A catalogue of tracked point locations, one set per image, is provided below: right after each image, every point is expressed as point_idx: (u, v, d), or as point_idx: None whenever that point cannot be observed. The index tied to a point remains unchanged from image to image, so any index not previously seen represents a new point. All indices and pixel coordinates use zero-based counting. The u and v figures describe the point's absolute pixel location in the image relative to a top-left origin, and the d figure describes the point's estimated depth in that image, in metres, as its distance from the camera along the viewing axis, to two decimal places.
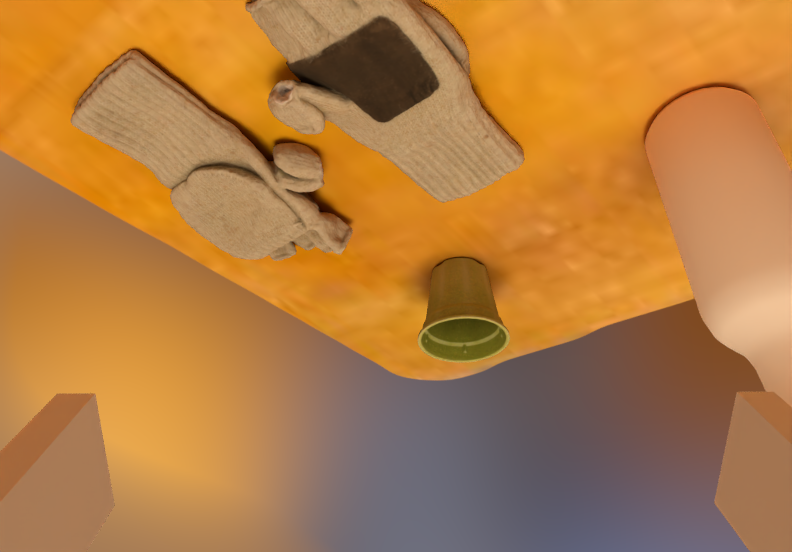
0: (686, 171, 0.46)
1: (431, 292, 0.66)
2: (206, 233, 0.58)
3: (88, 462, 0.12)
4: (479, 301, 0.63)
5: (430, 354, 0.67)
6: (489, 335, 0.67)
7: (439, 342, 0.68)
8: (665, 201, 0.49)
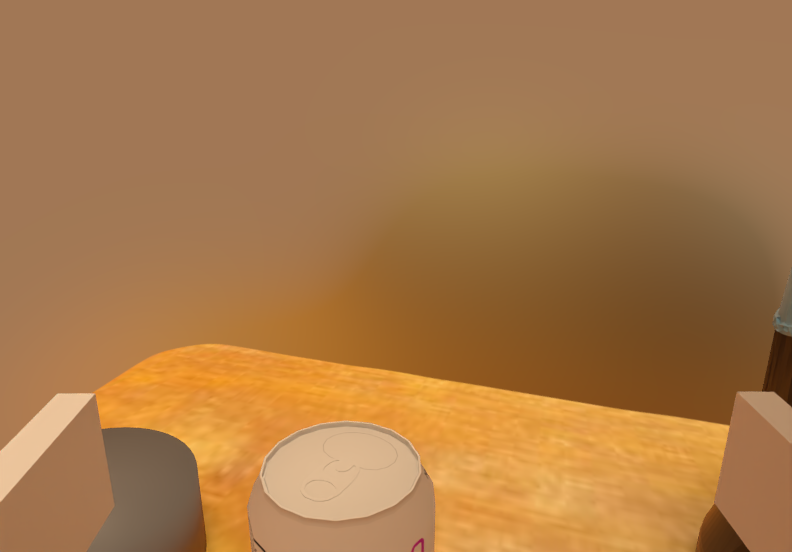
0: None
1: None
2: None
3: (88, 462, 0.12)
4: None
5: None
6: None
7: None
8: None
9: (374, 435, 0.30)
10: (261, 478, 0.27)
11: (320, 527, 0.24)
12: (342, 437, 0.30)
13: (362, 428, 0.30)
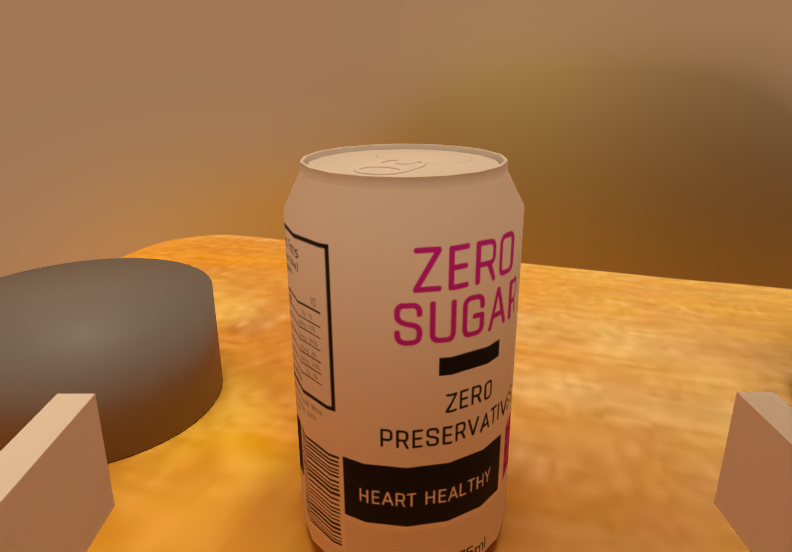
0: None
1: None
2: None
3: (88, 462, 0.12)
4: None
5: None
6: None
7: None
8: None
9: (438, 151, 0.24)
10: (302, 163, 0.21)
11: (385, 189, 0.18)
12: (399, 152, 0.24)
13: (422, 150, 0.24)
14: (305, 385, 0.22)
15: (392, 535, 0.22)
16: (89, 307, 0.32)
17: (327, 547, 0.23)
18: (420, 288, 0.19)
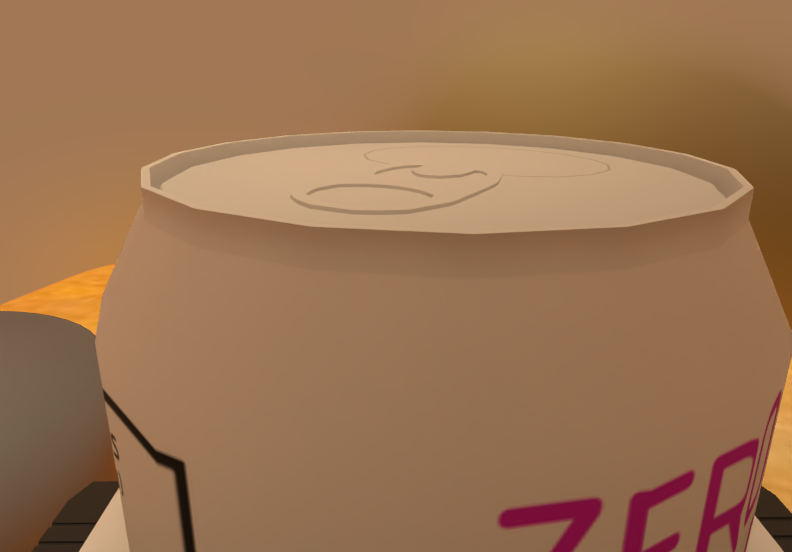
0: None
1: None
2: None
3: None
4: None
5: None
6: None
7: None
8: None
9: (510, 148, 0.10)
10: (145, 172, 0.07)
11: (389, 276, 0.05)
12: (420, 149, 0.10)
13: (468, 145, 0.11)
14: None
15: None
16: None
17: None
18: None
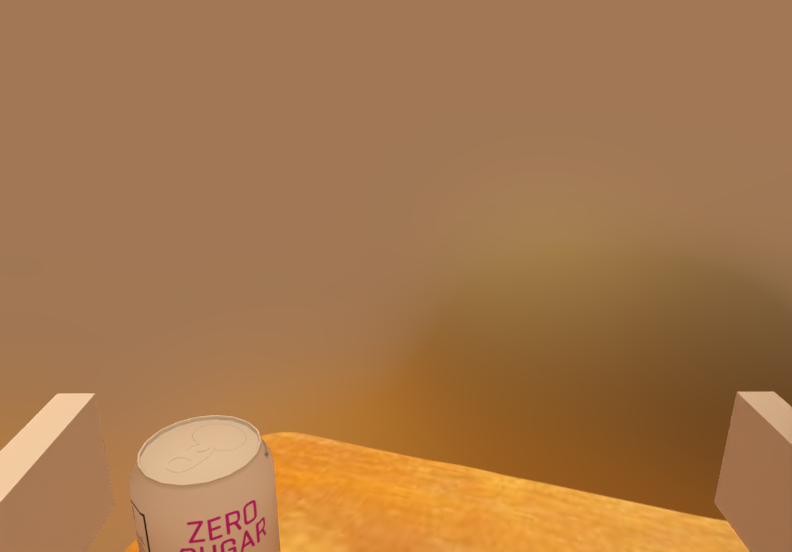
0: None
1: None
2: None
3: (88, 462, 0.12)
4: None
5: None
6: None
7: None
8: None
9: (234, 426, 0.39)
10: (138, 456, 0.36)
11: (172, 489, 0.34)
12: (210, 427, 0.39)
13: (227, 420, 0.40)
14: None
15: None
16: None
17: None
18: (193, 540, 0.34)
